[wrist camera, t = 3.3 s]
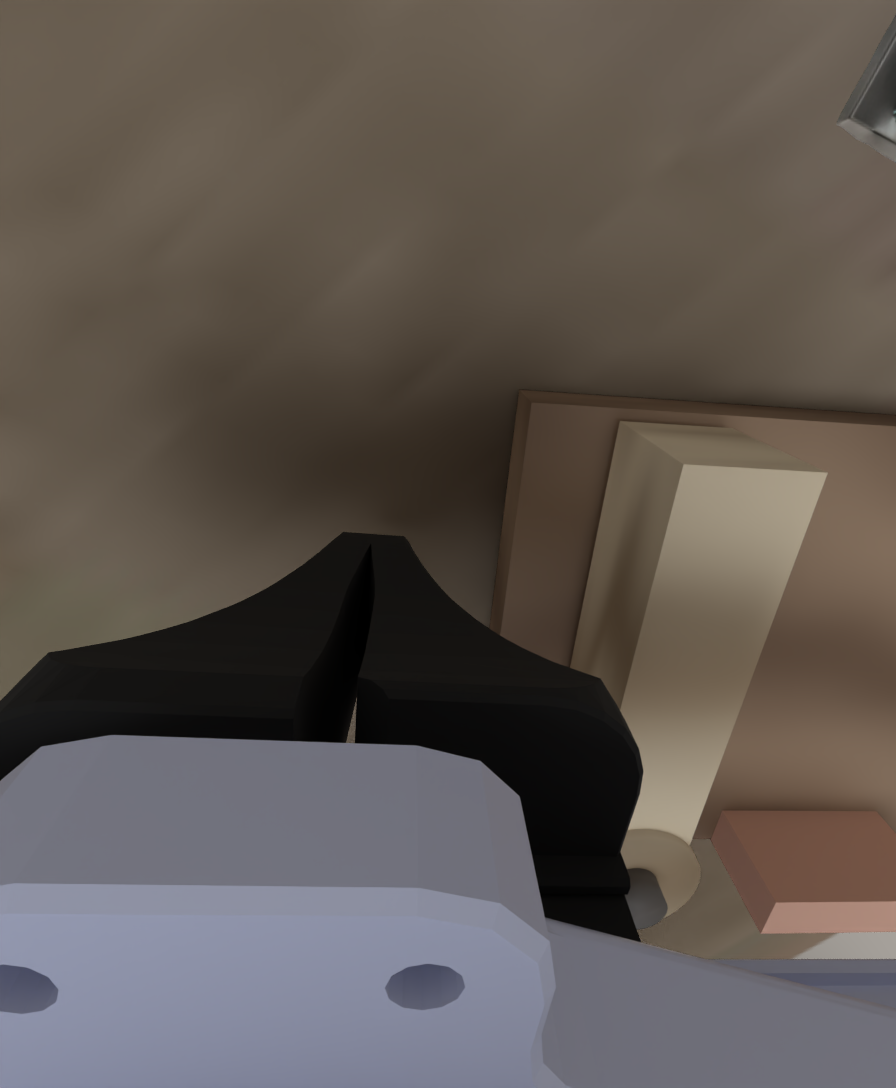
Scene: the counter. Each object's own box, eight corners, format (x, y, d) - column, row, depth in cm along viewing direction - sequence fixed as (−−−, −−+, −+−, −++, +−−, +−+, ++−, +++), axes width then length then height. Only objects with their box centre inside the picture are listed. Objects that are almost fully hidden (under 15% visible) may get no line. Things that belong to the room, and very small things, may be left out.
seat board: (870, 800, 20) (904, 839, 18) (468, 797, 18) (472, 838, 17) (1072, 426, 14) (1142, 442, 13) (519, 389, 13) (531, 402, 12)
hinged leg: (633, 814, 17) (692, 955, 13) (526, 814, 16) (557, 957, 13) (750, 429, 12) (888, 490, 8) (600, 419, 12) (681, 479, 8)
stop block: (860, 840, 18) (933, 931, 16) (710, 839, 18) (760, 933, 15) (876, 811, 18) (954, 901, 15) (722, 810, 17) (776, 902, 15)
